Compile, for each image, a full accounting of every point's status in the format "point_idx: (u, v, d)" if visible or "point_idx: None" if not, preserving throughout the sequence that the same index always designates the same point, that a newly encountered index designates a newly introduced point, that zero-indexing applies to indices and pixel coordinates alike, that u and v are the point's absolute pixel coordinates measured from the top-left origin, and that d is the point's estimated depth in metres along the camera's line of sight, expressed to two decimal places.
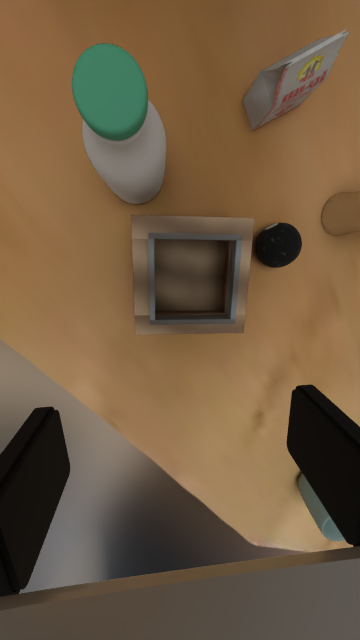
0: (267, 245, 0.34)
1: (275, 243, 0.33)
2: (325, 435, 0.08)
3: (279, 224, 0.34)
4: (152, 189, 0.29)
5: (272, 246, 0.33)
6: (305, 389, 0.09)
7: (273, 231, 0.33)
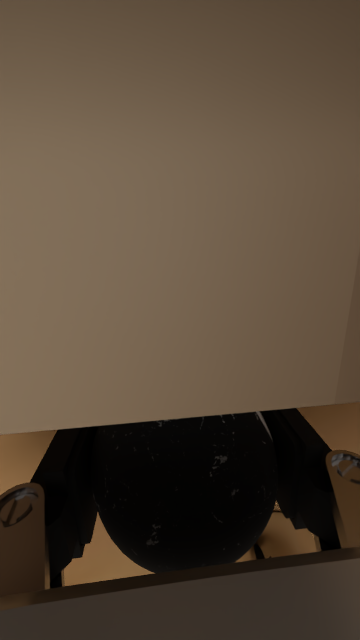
0: (189, 436, 0.06)
1: (205, 482, 0.06)
2: (269, 421, 0.09)
3: (275, 453, 0.08)
4: None
5: (187, 468, 0.06)
6: None
7: (255, 446, 0.07)
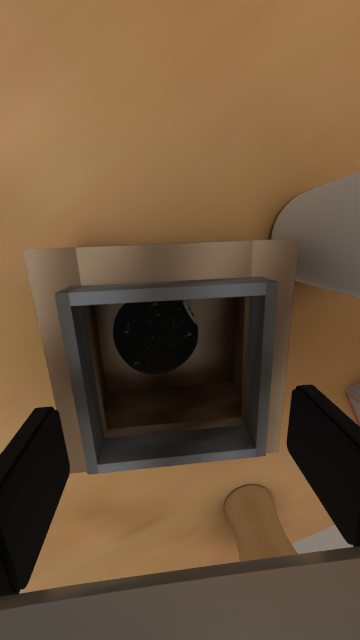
0: None
1: (147, 309, 0.16)
2: (325, 435, 0.08)
3: (190, 322, 0.17)
4: (321, 276, 0.16)
5: (142, 305, 0.16)
6: (305, 389, 0.09)
7: (173, 306, 0.16)
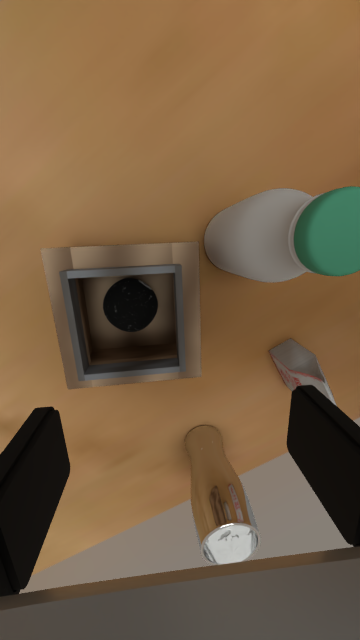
0: (117, 287, 0.26)
1: (121, 293, 0.26)
2: (325, 435, 0.08)
3: (148, 289, 0.27)
4: (223, 264, 0.26)
5: (117, 292, 0.26)
6: (305, 389, 0.09)
7: (134, 285, 0.27)
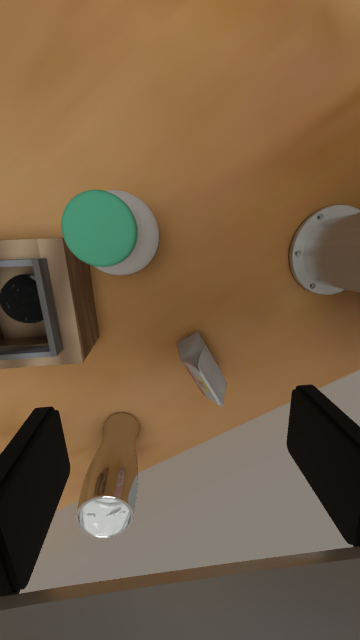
0: (7, 285, 0.29)
1: (10, 290, 0.29)
2: (325, 435, 0.08)
3: None
4: None
5: (7, 290, 0.29)
6: (305, 389, 0.09)
7: (23, 281, 0.29)
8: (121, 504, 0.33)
